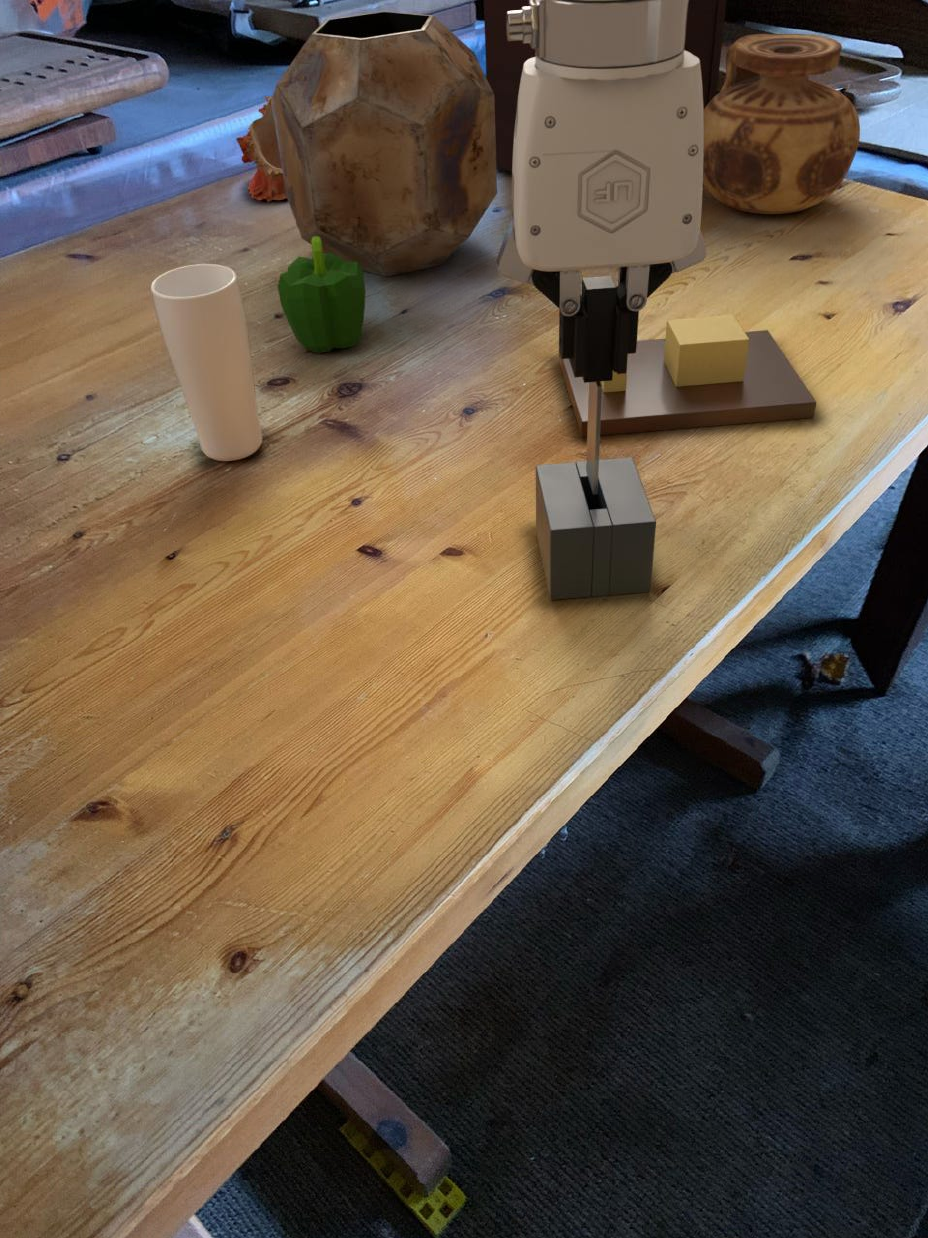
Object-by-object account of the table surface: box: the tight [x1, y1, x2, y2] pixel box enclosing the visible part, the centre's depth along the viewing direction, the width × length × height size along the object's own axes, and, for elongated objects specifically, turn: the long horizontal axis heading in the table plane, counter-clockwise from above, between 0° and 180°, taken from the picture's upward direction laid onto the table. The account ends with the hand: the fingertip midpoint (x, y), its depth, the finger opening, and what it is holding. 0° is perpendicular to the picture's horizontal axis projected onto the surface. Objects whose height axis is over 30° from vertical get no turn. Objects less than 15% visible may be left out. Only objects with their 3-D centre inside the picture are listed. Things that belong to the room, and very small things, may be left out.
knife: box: [581, 275, 617, 495], centre depth 64 cm, size 2×3×14 cm, turn 4°
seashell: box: [235, 94, 288, 203], centre depth 137 cm, size 17×11×15 cm
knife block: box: [535, 456, 657, 601], centre depth 71 cm, size 7×8×6 cm
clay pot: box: [703, 33, 861, 215], centre depth 118 cm, size 19×19×20 cm
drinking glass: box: [150, 263, 263, 462], centre depth 82 cm, size 7×7×15 cm
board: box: [558, 329, 817, 437], centre depth 91 cm, size 20×14×2 cm
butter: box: [664, 314, 749, 387], centre depth 89 cm, size 6×5×4 cm
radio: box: [483, 0, 727, 173], centre depth 130 cm, size 19×27×35 cm
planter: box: [271, 10, 498, 278], centre depth 111 cm, size 22×24×24 cm
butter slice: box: [601, 356, 628, 393], centre depth 89 cm, size 2×5×4 cm, turn 4°
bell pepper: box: [277, 236, 366, 354], centre depth 99 cm, size 8×8×10 cm
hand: (596, 363), depth 63 cm, fingers closed on knife, 1 cm apart
